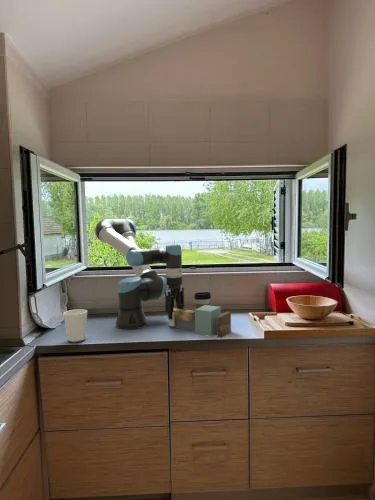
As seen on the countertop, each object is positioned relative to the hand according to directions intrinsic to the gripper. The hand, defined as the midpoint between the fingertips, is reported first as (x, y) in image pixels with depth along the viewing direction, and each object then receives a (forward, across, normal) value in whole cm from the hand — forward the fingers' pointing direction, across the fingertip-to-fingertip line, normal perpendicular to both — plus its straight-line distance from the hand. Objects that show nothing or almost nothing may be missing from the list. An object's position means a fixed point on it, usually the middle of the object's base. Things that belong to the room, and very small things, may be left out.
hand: (175, 324), depth 166 cm
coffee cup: (+2, +13, -8) cm, 15 cm away
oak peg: (-3, 0, -4) cm, 5 cm away
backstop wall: (+1, 0, -26) cm, 26 cm away
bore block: (+1, 0, -18) cm, 18 cm away
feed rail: (+1, 0, -4) cm, 5 cm away
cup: (+2, -37, +27) cm, 46 cm away
